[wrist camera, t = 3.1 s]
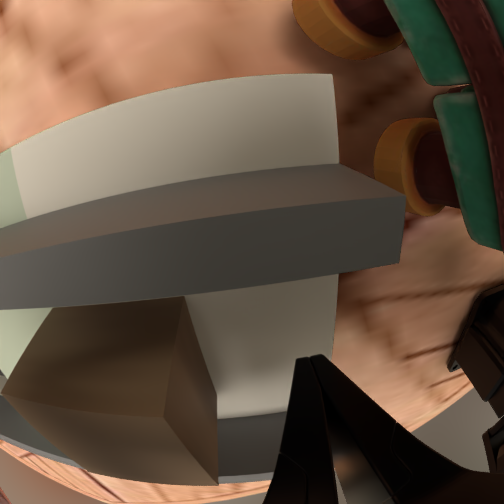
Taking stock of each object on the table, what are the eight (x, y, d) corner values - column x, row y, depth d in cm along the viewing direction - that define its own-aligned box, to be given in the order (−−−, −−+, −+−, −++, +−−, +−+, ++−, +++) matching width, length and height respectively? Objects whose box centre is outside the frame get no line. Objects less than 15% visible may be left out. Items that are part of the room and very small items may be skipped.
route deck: (309, 82, 7) (399, 51, 3) (312, 406, 14) (331, 479, 10) (-89, 226, 7) (-130, 259, 2) (4, 396, 14) (-14, 438, 9)
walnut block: (184, 295, 8) (163, 416, 4) (217, 395, 10) (218, 485, 7) (52, 307, 8) (0, 393, 4) (108, 396, 10) (89, 471, 6)
